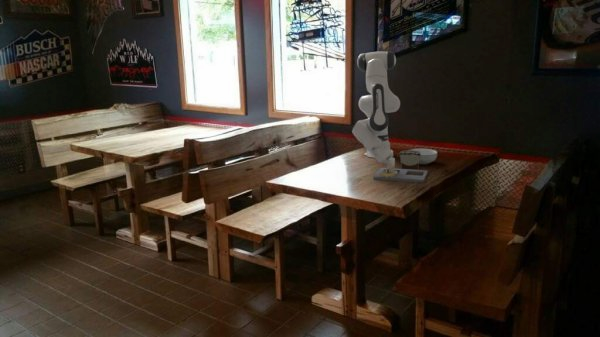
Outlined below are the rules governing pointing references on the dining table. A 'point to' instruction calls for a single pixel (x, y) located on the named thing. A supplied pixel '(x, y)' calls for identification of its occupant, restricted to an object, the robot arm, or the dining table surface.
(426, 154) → the cereal bowl
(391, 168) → the gear shaft
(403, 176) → the gear board
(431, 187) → the dining table surface
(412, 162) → the food container
